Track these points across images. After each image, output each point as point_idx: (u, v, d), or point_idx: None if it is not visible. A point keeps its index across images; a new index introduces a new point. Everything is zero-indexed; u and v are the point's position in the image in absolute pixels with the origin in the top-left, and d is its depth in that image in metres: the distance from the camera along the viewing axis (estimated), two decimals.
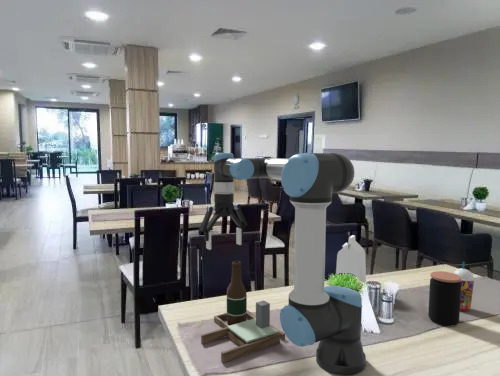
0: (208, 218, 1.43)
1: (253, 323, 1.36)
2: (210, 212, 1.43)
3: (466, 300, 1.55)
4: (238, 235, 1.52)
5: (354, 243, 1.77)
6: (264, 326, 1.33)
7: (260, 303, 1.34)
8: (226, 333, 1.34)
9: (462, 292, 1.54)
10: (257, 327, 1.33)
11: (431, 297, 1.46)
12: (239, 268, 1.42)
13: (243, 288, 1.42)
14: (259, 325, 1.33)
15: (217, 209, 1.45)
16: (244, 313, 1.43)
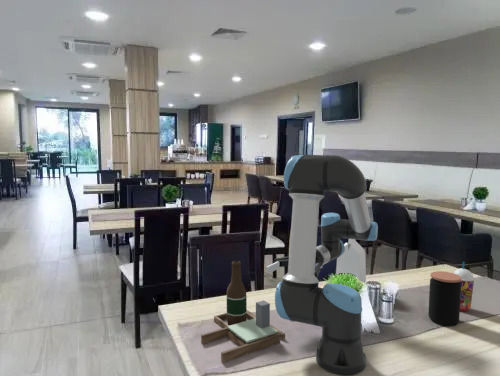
0: (286, 257, 1.50)
1: (253, 323, 1.36)
2: None
3: (466, 300, 1.55)
4: None
5: (354, 243, 1.77)
6: (264, 326, 1.33)
7: (260, 303, 1.34)
8: (226, 333, 1.34)
9: (462, 292, 1.54)
10: (257, 327, 1.33)
11: (431, 297, 1.46)
12: (239, 268, 1.42)
13: (243, 288, 1.42)
14: (259, 325, 1.33)
15: None
16: (244, 312, 1.43)
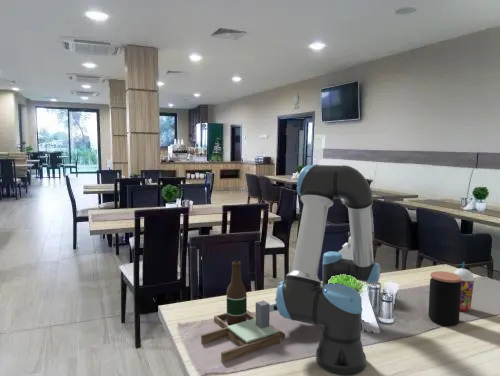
0: None
1: (253, 323, 1.36)
2: None
3: (466, 300, 1.55)
4: None
5: None
6: (264, 326, 1.33)
7: (260, 303, 1.34)
8: (226, 333, 1.34)
9: (462, 292, 1.54)
10: (257, 327, 1.33)
11: (431, 297, 1.46)
12: (239, 268, 1.42)
13: (243, 288, 1.42)
14: (259, 325, 1.33)
15: None
16: (244, 313, 1.43)
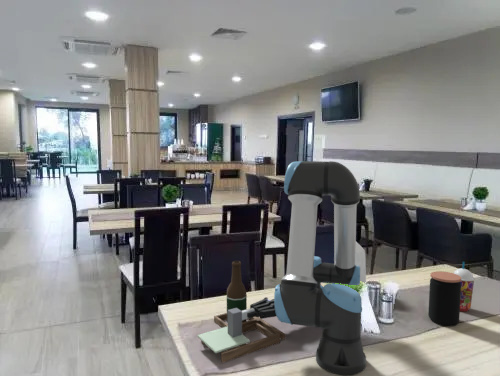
0: (260, 301, 1.40)
1: (225, 331, 1.30)
2: (264, 299, 1.42)
3: (466, 300, 1.55)
4: None
5: None
6: (236, 335, 1.27)
7: (232, 311, 1.27)
8: None
9: (462, 292, 1.54)
10: (228, 336, 1.27)
11: (431, 297, 1.46)
12: (239, 268, 1.42)
13: (243, 288, 1.42)
14: (231, 334, 1.27)
15: (272, 299, 1.42)
16: None
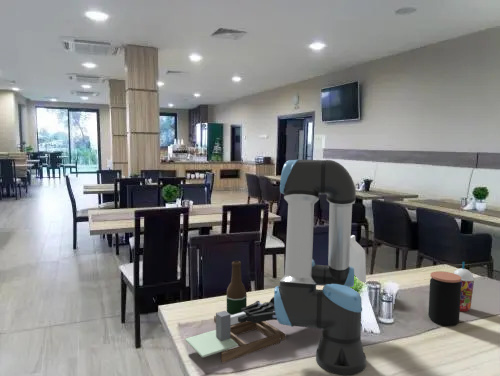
0: (252, 304, 1.37)
1: (213, 335, 1.27)
2: (255, 302, 1.39)
3: (466, 300, 1.55)
4: None
5: (354, 243, 1.77)
6: (224, 338, 1.24)
7: (220, 314, 1.25)
8: None
9: (462, 292, 1.54)
10: (217, 340, 1.24)
11: (431, 297, 1.46)
12: (239, 268, 1.42)
13: (243, 288, 1.42)
14: (219, 337, 1.24)
15: (264, 303, 1.39)
16: None
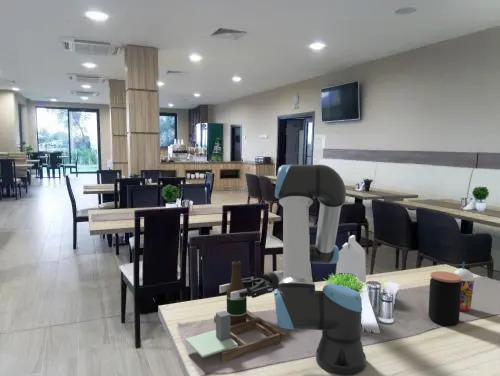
0: (244, 278, 1.53)
1: (213, 335, 1.27)
2: (249, 277, 1.54)
3: (466, 300, 1.55)
4: None
5: (354, 243, 1.77)
6: (224, 338, 1.24)
7: (220, 314, 1.25)
8: None
9: (462, 292, 1.54)
10: (217, 340, 1.24)
11: (431, 297, 1.46)
12: (239, 268, 1.42)
13: (243, 288, 1.42)
14: (219, 337, 1.24)
15: None
16: (244, 313, 1.43)
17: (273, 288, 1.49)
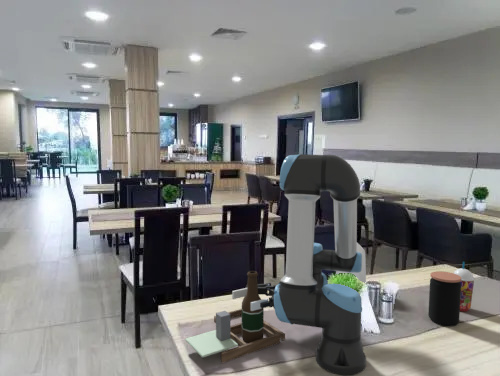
0: (259, 284, 1.42)
1: (213, 335, 1.27)
2: (265, 284, 1.43)
3: (466, 300, 1.55)
4: None
5: None
6: (224, 338, 1.24)
7: (220, 314, 1.25)
8: None
9: (462, 292, 1.54)
10: (217, 340, 1.24)
11: (431, 297, 1.46)
12: (256, 279, 1.30)
13: None
14: (219, 337, 1.24)
15: None
16: (261, 328, 1.31)
17: None
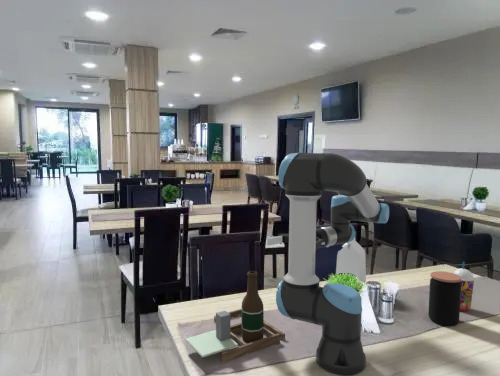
0: None
1: (213, 335, 1.27)
2: None
3: (466, 300, 1.55)
4: None
5: (354, 243, 1.77)
6: (224, 338, 1.24)
7: (220, 314, 1.25)
8: None
9: (462, 292, 1.54)
10: (217, 340, 1.24)
11: (431, 297, 1.46)
12: (256, 279, 1.30)
13: (260, 301, 1.30)
14: (219, 337, 1.24)
15: None
16: (261, 328, 1.31)
17: None
